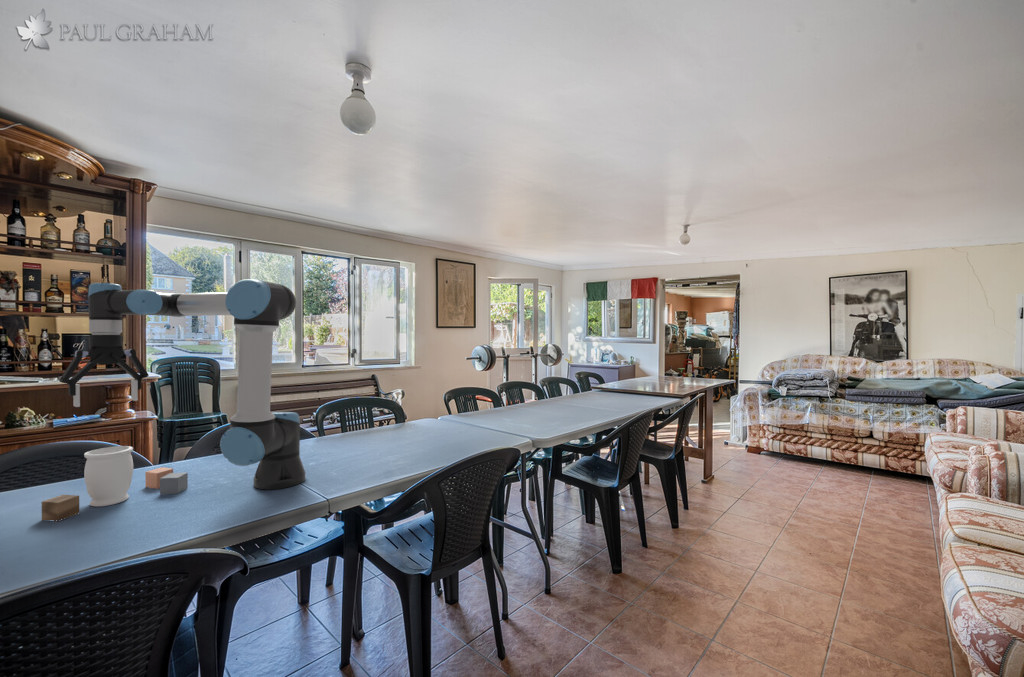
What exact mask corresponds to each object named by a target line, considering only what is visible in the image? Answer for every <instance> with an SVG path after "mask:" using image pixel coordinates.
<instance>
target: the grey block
mask: <svg viewBox="0 0 1024 677" xmlns="http://www.w3.org/2000/svg"><path fill="white" fill-rule="evenodd" d="M188 475H189V474H188V472H173V473H170V474H168V475H166V476H164V477H162V478H160V488H159V494H161V495H176V494H177V495H178V493H179V494H181V493H182V492H183V490H184V491H185V490H187V489H188V488H189V487H188V486H189V485H188V484H189V483H188V481H189V480H188V478H189V477H188ZM181 491H182V492H181Z"/></svg>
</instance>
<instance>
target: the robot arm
mask: <svg viewBox="0 0 1024 677" xmlns="http://www.w3.org/2000/svg"><path fill="white" fill-rule="evenodd" d="M87 299H88V333H90V335H89V336H88V348H89V349H88V350H87V351H83V350H75V351H74V354H73V358H72V360H71V361H70V363H69V365H68V366H67V367H66V369H65V371H64V372H63V374H62V375H61V377H60V379H59V380H58V381H59V382H60V383H62V384H67V386H68V395H69V396H71V397H72V398H73V402H72V403H73V407H75V408H80V407H81V385H80V383H78V382H79V381H80V380H81V379H82V378H83V377H84V376H86V375H87V373H89V372H90V371H91V370H92V369H93V368H94V367H95V366H97V365H98V366H101V365H102V366H103V365H104V366H105V365H117V366H119V367H120V368H121V369H123V371H125V372H126V373H127V374H128V375H129V376H131V377H132V378H133V379H130V380H131V381H130V384H131V389H130V391H131V393H130V394H131V397H130V398H131V399H130V400H131V401H134V402H137V401H139V396H138V395H139V394H138V392H139V390H142V380H143V379H145V378H148V377H149V376H150V375H149V373H148V372H147V370H146V368H145V367H144V365H143V364H142V363H141V361H140V359H139V358H138V356H137V352H136V349H135V348H129V349H126V350H124V349H123V348H124V347H123V335H122V334H121V333H123V316H124V315H129V316H130V315H133V316H134V315H136V316H137V315H138V316H139V315H140V316H159V317H160V316H162V317H163V316H164V317H165V316H166V317H175V318H179V317H181V318H182V317H188V316H189V317H190V316H191V317H194V316H195V317H197V316H200V317H201V316H232V317H233V326H234V327H236V328H237V329H238V330H239V338H238V339H239V340H238V342H239V343H238V344H239V345H238V366H237V367H238V369H237V370H238V371H237V394H236V395H237V398H236V399H237V400H236V413H235V414H233V415H232V416H231V417H230V421H229V422H230V423H229V429H227V430H226V431H225V432H224V434H222V436H221V438H220V441H219V447H220V451H221V453H222V456H223V457H224V458H225V459H227V461H228V462H229V463H230V464H232V465H235V466H237V467H238V466H239V467H245V466H247V467H248V466H251V465H253V464H257V463H258V465H257V468H256V470H255V474H254V477H253V487H254V488H256V489H258V490H280V489H284V488H285V489H286V488H290V487H294V486H296V485H299V484H301V483H303V482H304V481H305V480H306V470H305V467H304V465H303V462H302V460H301V457H300V456H301V455H300V452H301V450H300V448H301V447H300V445H301V444H300V443H301V442H300V440H301V439H300V436H301V435H300V434H301V422H300V415H299V413H298V412H295V411H294V412H293V411H271V396H272V395H271V394H272V392H271V390H272V367H273V341H274V338H273V337H274V332H275V331H276V330H277V329H278V328H279V327H280V320H281V321H282V320H284V319H285V320H286V319H287V318H289V317H290V316H291V315H292V314H293V313H294V312H295V310H296V307H297V300H296V296H295V294H294V292H293V291H292V290H291V289H290V288H289V287H287V286H285V285H283V284H281V283H276V282H270V281H265V280H262V279H250V278H249V279H248V278H247V279H245V278H244V279H242V280H238V282H235V283H234V284H233V285H232V286H231V287H230V288H229V289H228V291H227V292H193V293H192V292H188V293H186V292H185V293H183V292H181V293H180V292H179V293H178V292H175V293H171V292H170V293H169V292H159V291H155V290H153V289H142V288H141V289H140V288H139V289H122V285H121V284H117V283H108V282H107V283H106V282H102V283H101V282H92V283H91V284H89V285H88V294H87ZM124 355H125V356H127V357H128V358H129V360H130V361H131V363H132V364H133V366H134V367H135V369H136V371H135V370H134V369H133V368H132V367H131V366H130V365H128V364H127V362H126V361H124V360H123V359H122V357H123V356H124ZM86 356H88V358H90V360H89V361H88V362H86V364H85V365H84V366H83V367H81V369H79V371H77V372H76V373H75V371H76V369H77V368H78V366H79V364H80V363H81V362H82V359H84V358H85V357H86ZM74 373H75V374H74ZM73 374H74V375H73Z"/></svg>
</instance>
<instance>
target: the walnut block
mask: <svg viewBox="0 0 1024 677" xmlns="http://www.w3.org/2000/svg"><path fill="white" fill-rule="evenodd" d="M78 513H79V514H80V495H74V494H61V495H59V496H55V497H51V498H49V499H46V500H42V501H41V521H43V520H54V521H53V522H60V521H59V520H61V519H64V518H66V519H68V518H67V517H69V518H71V517H70V516H72V517H74V516H76V515H75V514H77V515H79V514H78ZM73 515H74V516H73ZM56 520H57V521H56ZM64 520H65V519H64ZM61 521H62V520H61Z"/></svg>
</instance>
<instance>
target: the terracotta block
mask: <svg viewBox="0 0 1024 677" xmlns="http://www.w3.org/2000/svg"><path fill="white" fill-rule="evenodd" d="M170 473H174V468H170V467H164V466H163V467H158V468H154V469H151V470H147V471H145V488H147V487H149V488H148V489H154V488H155V489H156V490H158V489H160V478H162V477H164V476H166V475H168V474H170Z"/></svg>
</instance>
